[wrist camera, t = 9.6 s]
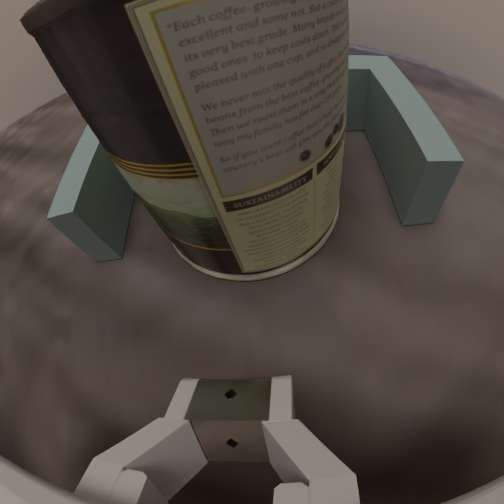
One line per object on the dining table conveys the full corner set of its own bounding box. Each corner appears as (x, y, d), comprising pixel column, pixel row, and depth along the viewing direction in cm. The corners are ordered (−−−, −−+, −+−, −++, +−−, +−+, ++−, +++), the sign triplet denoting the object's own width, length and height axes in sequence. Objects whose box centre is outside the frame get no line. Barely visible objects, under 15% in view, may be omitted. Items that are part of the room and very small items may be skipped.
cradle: (380, 112, 19) (387, 56, 15) (432, 222, 15) (463, 160, 10) (126, 150, 22) (98, 104, 17) (96, 261, 17) (46, 218, 13)
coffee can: (153, 286, 16) (-43, 69, 3) (182, 150, 20) (105, -28, 8) (353, 279, 14) (411, -76, 2) (329, 136, 19) (317, -74, 7)
